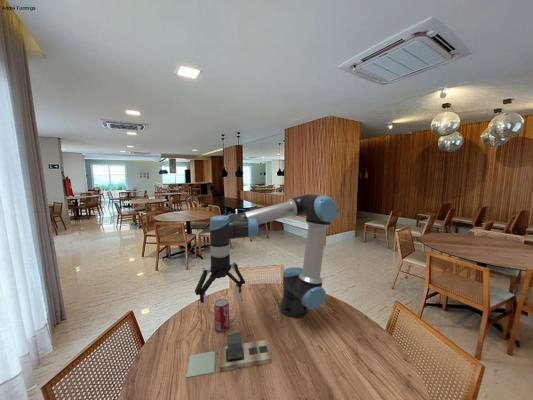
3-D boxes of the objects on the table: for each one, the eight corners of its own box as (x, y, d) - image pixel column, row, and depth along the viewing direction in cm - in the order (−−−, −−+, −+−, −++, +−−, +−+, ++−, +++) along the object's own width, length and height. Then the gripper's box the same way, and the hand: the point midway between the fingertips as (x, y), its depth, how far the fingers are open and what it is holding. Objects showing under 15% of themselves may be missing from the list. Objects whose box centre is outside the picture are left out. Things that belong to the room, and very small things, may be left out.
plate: (266, 344, 95) (266, 339, 95) (271, 362, 86) (271, 358, 85) (219, 351, 91) (219, 346, 91) (219, 372, 82) (219, 367, 81)
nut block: (241, 352, 91) (240, 332, 90) (242, 363, 86) (241, 342, 85) (227, 354, 90) (227, 334, 89) (228, 365, 85) (227, 344, 84)
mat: (215, 352, 91) (214, 351, 91) (214, 373, 81) (214, 372, 81) (190, 356, 89) (190, 355, 89) (186, 378, 79) (186, 377, 79)
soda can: (226, 333, 102) (225, 307, 101) (212, 331, 104) (211, 305, 102) (231, 323, 109) (231, 299, 108) (218, 321, 110) (217, 297, 109)
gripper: (245, 247, 96) (246, 292, 98) (186, 256, 84) (188, 308, 87) (252, 252, 89) (253, 301, 91) (188, 263, 78) (191, 319, 80)
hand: (221, 304), depth 89 cm, fingers open, 13 cm apart
